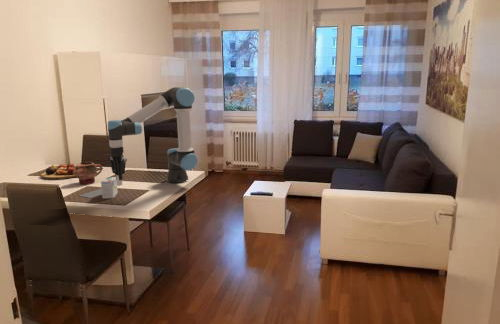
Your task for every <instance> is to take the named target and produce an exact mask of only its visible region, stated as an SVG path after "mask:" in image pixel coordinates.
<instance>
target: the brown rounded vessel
mask: <svg viewBox="0 0 500 324" xmlns="http://www.w3.org/2000/svg"><path fill="white" fill-rule="evenodd" d="M74 166H75V169H74V171H73V174H74V175H75V176H77V177H76V178H78V183H79V184H80V185H90V184H94V183H95V181H96V180H95V179H96V178H95V177H98V176H99V175H100V174H101V172H102V171H103V166H102V165H101V164H99V163H98V164H97V163H96V164H95V163H94V162H90V161H89V162H85V161H84V162H81V163H78V164H76V165H74ZM97 168H100V170H99V171H98V169H97ZM97 171H98V172H97Z"/></svg>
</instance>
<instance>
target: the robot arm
mask: <svg viewBox="0 0 500 324" xmlns="http://www.w3.org/2000/svg"><path fill="white" fill-rule="evenodd" d="M195 97H196V96H195V94H194V92H193V90H191V89H190V88H188V87H184V86H183V87H177V86H175V87H171V88H169V89H168V90H166V91H165V92H163V93H161V94H160V95H159V96H158V98H156V99H155V100H153V101H152V102H150V103H149V104H147V105H145V106H143V107H142V108H140V109H138V110H137V111H136V112H134V113H132V114H130V115H129V116H127V117H126V118H124V119H121V120H120V119H115V120H114V119H112V120H111V119H110V120H109V121H107V133H108V134H107V135H108V144H109V153H110V154H111V156H110V157H108V161H109V164H110V167H111V168H110V169H111V172H112V174H115V177H116V181H117V187H119V186H122V185H123V175H124V174H125V172H126V163H127V161H128V159H127V158H125V157H124V146H123V144H124V141H123V137H125V136H127V137H128V136H137V135H141V134H142V133H143V125H142V123H143V122H145V121H147V120H148V119H150V118H152V117H153V116H155V115H156V114H157V113H160V112H161V111H162V110H164V109H168V108H171V107H172V106H173V110H174V111H175V113H176V124H177V125H176V126H177V139H178V140H177V141H178V142H177V144H178V147H175V148H169V149H168V150H167V167H168V171H167V175H166V182H167V183H169V182H170V183H169V184H179V183H178V182H182V183H184V182H183V181H186V180H188V181H189V175H188V173H187V171H192V170H193V169H195V168H196V167H197V166H198V162H199V161H198V160H199V158H198V156H197V155H196V154H195V148H194V147H193V145H192V131H191V130H192V129H191V126H192V125H191V124H192V123H191V110H193V104H194V102H195ZM186 182H187V181H186Z"/></svg>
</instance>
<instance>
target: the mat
mask: <svg viewBox="0 0 500 324" xmlns="http://www.w3.org/2000/svg"><path fill="white" fill-rule="evenodd" d="M81 196H82V198H88V199H94V198H96V197H99V196H102V188H98V189H95V190H93V191H89V192H86V193H83V194H81V195H78V197H81Z"/></svg>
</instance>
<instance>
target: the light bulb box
mask: <svg viewBox="0 0 500 324" xmlns="http://www.w3.org/2000/svg"><path fill="white" fill-rule="evenodd" d="M100 185H101V186H100V187H101V188H102V195H101V197H102V199H114V198H115V197H116V196H117V194H118V193H119V192H118V186H117V180H116V176H108V177H104V179H102V180H101V181H100ZM101 188H100V189H101Z"/></svg>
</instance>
